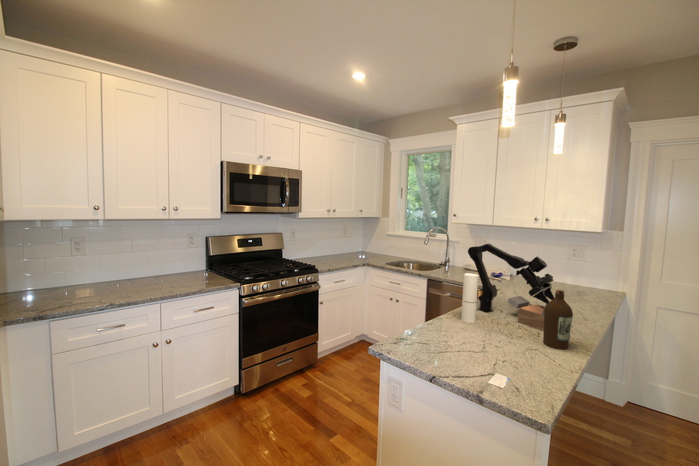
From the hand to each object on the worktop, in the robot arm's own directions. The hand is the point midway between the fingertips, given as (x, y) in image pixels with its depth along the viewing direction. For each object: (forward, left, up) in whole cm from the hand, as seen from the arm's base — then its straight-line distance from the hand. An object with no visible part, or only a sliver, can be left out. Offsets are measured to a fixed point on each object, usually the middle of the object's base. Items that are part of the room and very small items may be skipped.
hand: (552, 302), depth 164 cm
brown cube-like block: (+12, +20, -13) cm, 26 cm away
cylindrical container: (-32, +25, -13) cm, 43 cm away
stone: (0, +2, -8) cm, 8 cm away
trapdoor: (0, +10, -9) cm, 13 cm away
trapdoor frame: (0, +5, -13) cm, 14 cm away
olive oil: (-21, -14, -13) cm, 29 cm away
